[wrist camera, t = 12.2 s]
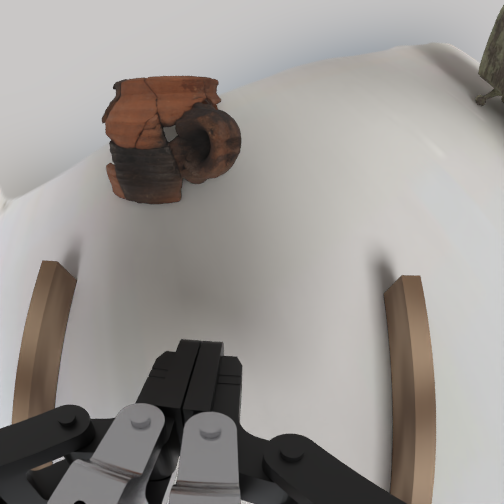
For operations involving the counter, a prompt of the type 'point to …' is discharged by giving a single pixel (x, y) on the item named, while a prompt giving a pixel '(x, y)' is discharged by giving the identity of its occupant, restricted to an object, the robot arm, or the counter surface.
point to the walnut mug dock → (401, 354)
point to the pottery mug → (155, 143)
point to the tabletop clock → (494, 61)
